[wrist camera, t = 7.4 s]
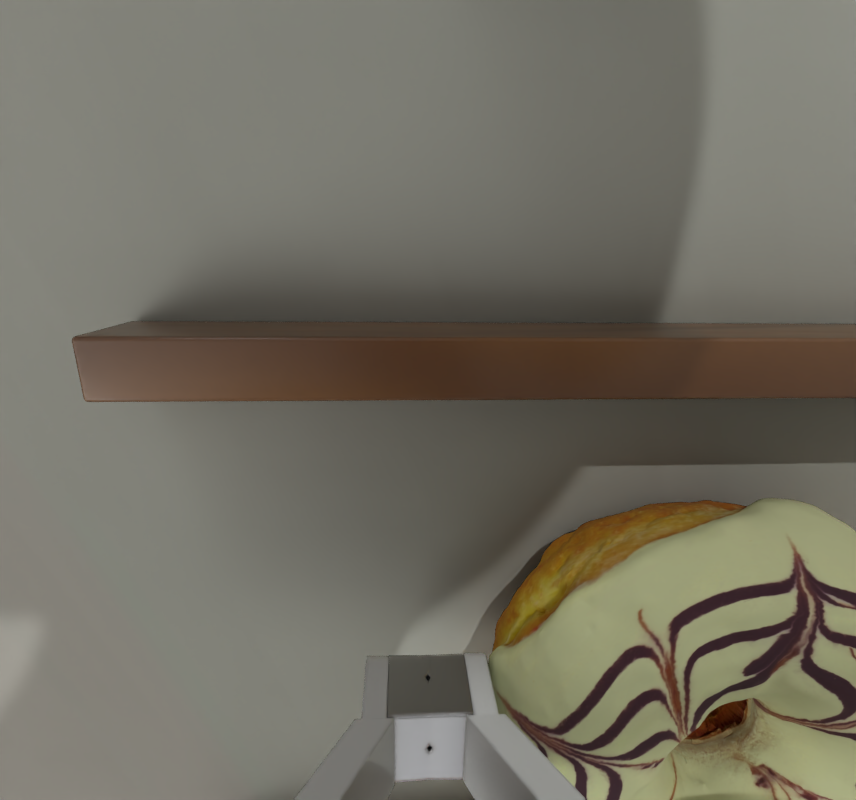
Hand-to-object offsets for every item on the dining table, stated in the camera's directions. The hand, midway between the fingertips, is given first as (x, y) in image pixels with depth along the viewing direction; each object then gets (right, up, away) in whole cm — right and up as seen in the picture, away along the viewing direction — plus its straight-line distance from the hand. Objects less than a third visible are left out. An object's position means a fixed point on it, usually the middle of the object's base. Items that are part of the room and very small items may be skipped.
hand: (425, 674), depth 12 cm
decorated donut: (+7, 0, +2) cm, 7 cm away
